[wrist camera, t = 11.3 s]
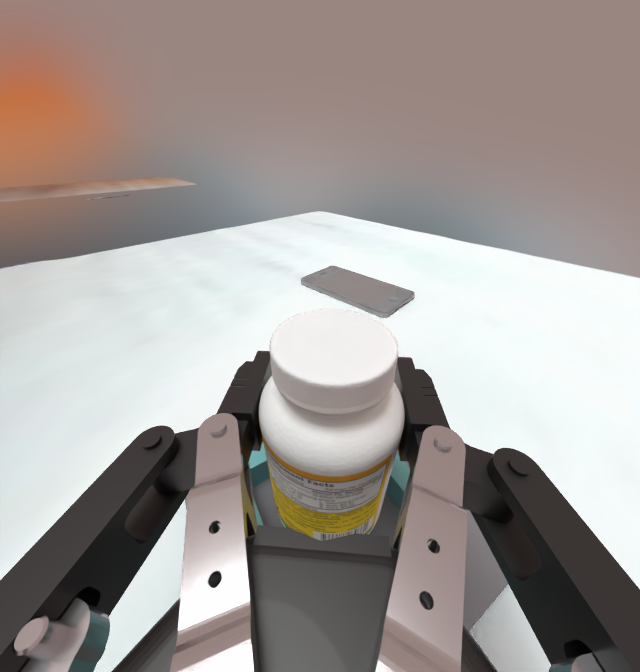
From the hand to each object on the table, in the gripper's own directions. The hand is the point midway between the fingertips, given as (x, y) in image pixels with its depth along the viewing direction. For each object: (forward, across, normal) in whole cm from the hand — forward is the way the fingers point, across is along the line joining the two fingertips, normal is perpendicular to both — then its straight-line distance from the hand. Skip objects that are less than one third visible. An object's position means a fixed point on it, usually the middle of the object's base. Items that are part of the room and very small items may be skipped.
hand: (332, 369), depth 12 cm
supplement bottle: (-3, 0, +6) cm, 7 cm away
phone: (+28, -2, +10) cm, 30 cm away
